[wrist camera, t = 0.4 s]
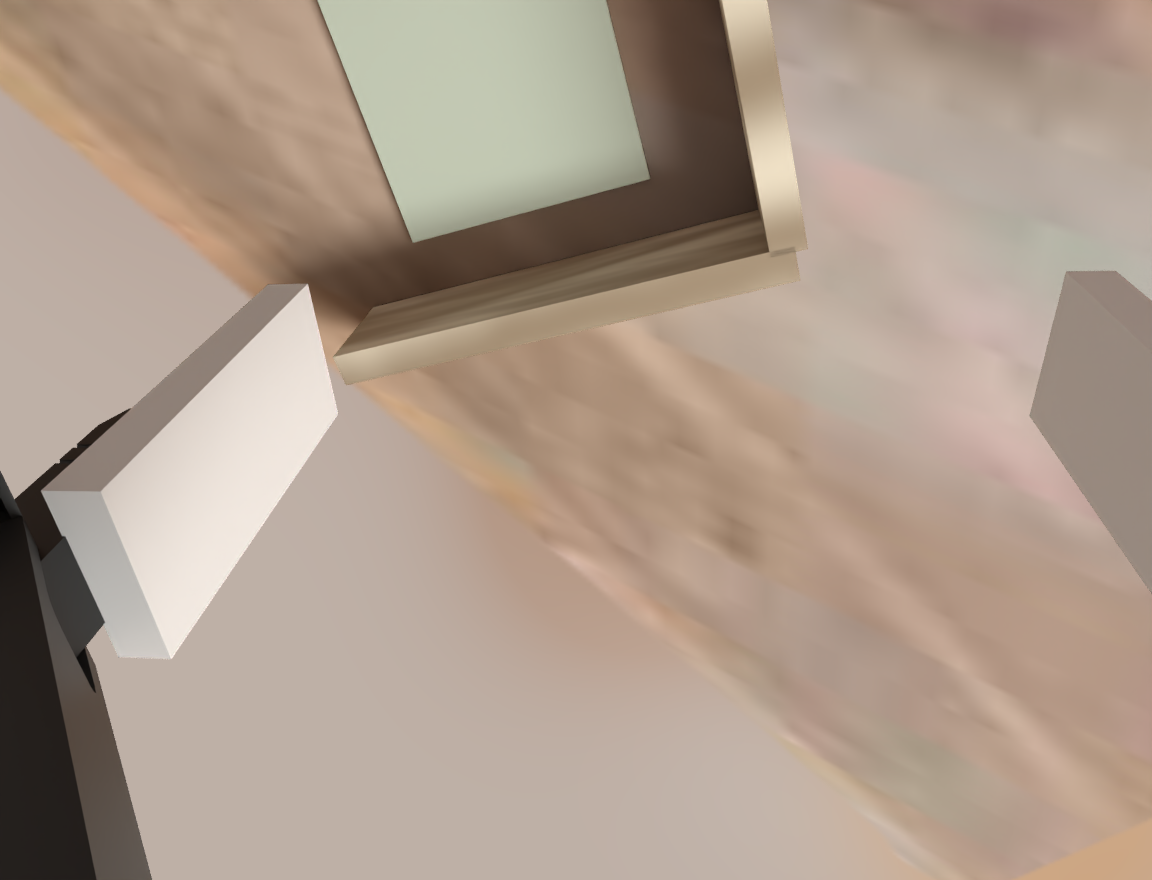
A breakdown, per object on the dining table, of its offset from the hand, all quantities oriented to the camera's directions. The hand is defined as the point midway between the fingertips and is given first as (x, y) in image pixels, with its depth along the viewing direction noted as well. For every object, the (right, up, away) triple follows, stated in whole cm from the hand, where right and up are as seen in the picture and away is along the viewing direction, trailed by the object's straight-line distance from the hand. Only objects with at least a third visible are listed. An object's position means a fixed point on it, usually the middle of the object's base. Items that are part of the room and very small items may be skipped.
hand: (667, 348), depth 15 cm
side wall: (+6, +15, +21) cm, 27 cm away
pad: (-6, +14, +23) cm, 28 cm away
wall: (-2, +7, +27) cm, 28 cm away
